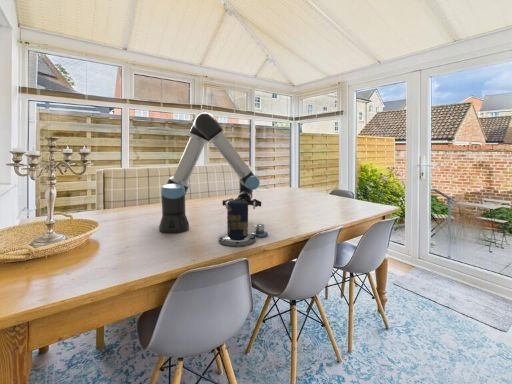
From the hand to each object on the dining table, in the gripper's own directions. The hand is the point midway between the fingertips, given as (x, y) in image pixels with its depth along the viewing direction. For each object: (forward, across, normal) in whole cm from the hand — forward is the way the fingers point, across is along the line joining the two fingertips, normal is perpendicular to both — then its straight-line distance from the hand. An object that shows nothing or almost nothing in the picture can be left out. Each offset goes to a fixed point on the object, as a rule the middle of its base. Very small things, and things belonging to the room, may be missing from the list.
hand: (240, 206), depth 143 cm
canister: (+11, 0, -13) cm, 17 cm away
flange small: (+2, -10, -14) cm, 17 cm away
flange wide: (+11, 0, -14) cm, 18 cm away
